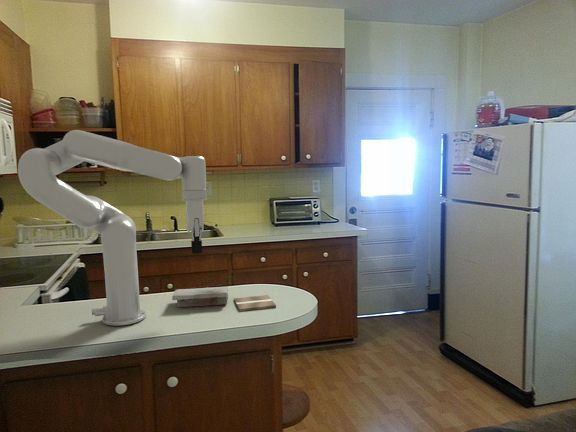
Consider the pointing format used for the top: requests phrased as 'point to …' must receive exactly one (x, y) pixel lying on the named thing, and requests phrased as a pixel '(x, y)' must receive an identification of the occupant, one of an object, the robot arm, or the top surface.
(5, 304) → the top surface
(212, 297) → the packaged product
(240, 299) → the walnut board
